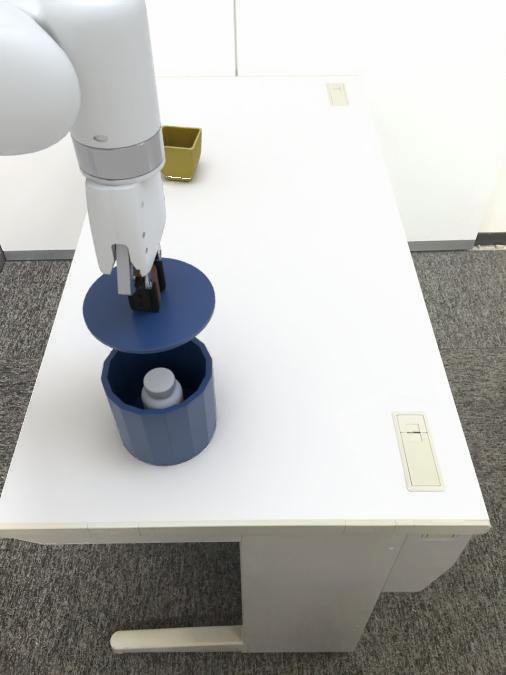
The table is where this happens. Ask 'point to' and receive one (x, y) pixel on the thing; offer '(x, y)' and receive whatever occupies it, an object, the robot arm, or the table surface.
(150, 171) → the robot arm
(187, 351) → the tin
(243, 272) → the table surface
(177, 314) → the tin lid
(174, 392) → the supplement bottle
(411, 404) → the table surface
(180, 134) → the flower pot
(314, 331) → the table surface
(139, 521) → the table surface
